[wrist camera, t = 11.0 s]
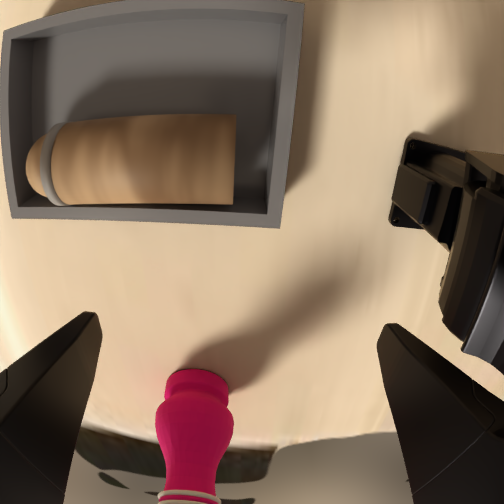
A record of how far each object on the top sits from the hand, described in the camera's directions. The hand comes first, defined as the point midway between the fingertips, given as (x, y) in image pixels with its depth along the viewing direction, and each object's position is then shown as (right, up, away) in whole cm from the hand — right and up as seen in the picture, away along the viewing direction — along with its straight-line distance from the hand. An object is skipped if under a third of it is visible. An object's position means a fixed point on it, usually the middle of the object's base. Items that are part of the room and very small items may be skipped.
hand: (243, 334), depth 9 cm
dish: (-7, +11, +8) cm, 16 cm away
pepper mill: (-5, -11, +21) cm, 24 cm away
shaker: (-1, +7, +7) cm, 10 cm away
